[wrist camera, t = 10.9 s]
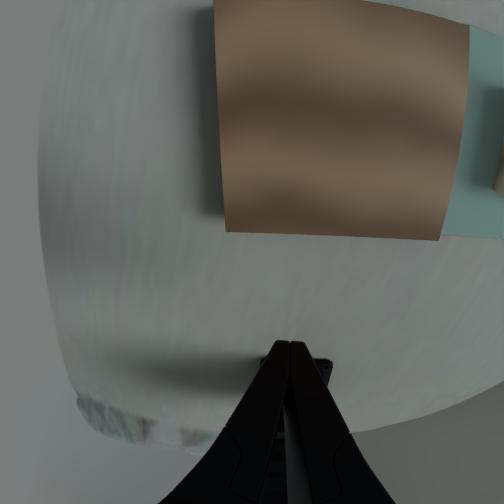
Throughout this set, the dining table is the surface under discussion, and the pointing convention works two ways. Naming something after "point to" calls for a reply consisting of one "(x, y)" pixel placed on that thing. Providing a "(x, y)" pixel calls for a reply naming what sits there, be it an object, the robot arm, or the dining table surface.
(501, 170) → the birch tile
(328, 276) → the dining table surface
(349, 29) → the walnut board
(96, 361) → the dining table surface
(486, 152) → the rubber mat
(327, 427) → the robot arm
